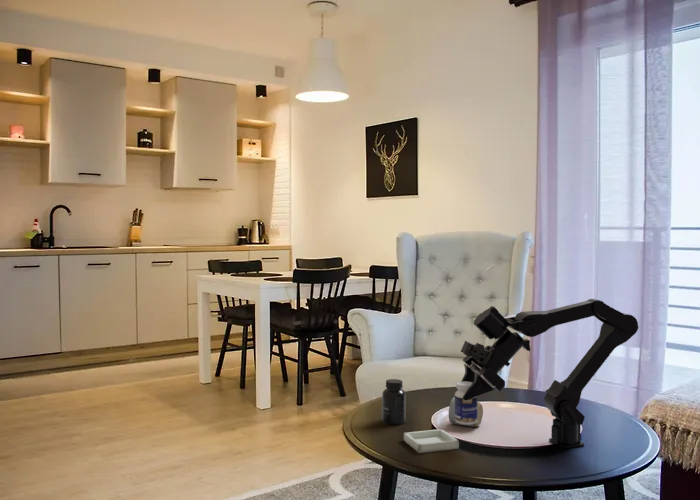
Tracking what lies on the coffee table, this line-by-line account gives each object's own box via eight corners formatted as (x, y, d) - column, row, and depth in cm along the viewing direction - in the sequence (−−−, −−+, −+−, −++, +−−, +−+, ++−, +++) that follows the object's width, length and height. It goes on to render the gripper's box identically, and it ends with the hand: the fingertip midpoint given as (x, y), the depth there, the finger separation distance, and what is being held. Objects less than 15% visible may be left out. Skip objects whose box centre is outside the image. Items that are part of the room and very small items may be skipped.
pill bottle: (464, 426, 157) (463, 387, 156) (450, 420, 162) (449, 382, 161) (482, 422, 159) (481, 384, 159) (468, 417, 164) (467, 379, 164)
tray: (441, 436, 169) (441, 428, 169) (458, 448, 159) (458, 440, 159) (403, 440, 165) (403, 432, 165) (418, 453, 156) (419, 445, 156)
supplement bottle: (378, 423, 180) (378, 382, 180) (386, 417, 186) (386, 377, 186) (401, 426, 177) (401, 384, 177) (408, 419, 184) (408, 379, 183)
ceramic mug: (475, 430, 174) (475, 403, 173) (447, 426, 178) (448, 399, 178) (487, 421, 183) (487, 395, 183) (460, 417, 187) (461, 391, 187)
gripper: (469, 324, 169) (430, 367, 169) (491, 336, 151) (447, 383, 150) (498, 352, 170) (459, 394, 170) (523, 367, 152) (480, 414, 151)
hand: (460, 396), depth 160 cm, fingers closed on pill bottle, 6 cm apart
